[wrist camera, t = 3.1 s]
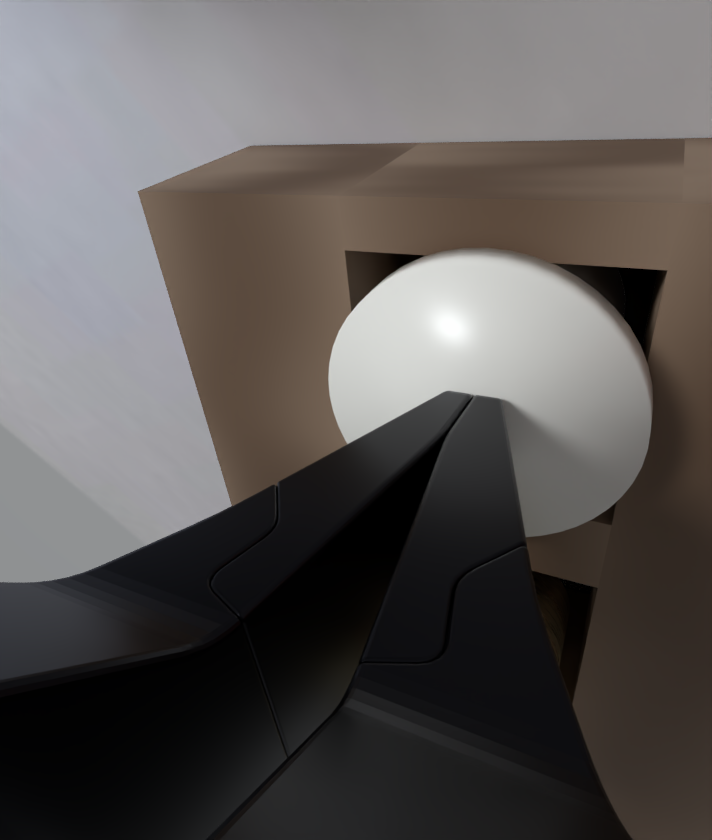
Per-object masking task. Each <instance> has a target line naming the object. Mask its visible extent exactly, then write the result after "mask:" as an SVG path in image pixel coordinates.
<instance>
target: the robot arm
mask: <svg viewBox="0 0 712 840" xmlns="http://www.w3.org/2000/svg"><path fill="white" fill-rule="evenodd" d="M0 840H633V839H632V838H631V836H630V835H629V833H628V832H627V830H626V829H625V827H624V826H623V824H622V822H621V821H620V819H619V818H618V816H617V814H616V812H615V810H614V808H613V806H612V804H611V802H610V800H609V798H608V796H607V794H606V791H605V789H604V787H603V785H602V782H601V780H600V778H599V775H598V773H597V771H596V768H595V766H594V763H593V760H592V758H591V755H590V753H589V750H588V747H587V745H586V742H585V739H584V736H583V733H582V731H581V728H580V725H579V722H578V719H577V716H576V713H575V711H574V708H573V705H572V702H571V699H570V696H569V693H568V691H567V688H566V685H565V682H564V679H563V676H562V674H561V671H560V668H559V665H558V662H557V659H556V656H555V654H554V651H553V648H552V645H551V642H550V639H549V636H548V632H547V629H546V626H545V622H544V619H543V616H542V613H541V609H540V606H539V602H538V598H537V593H536V588H535V584H534V579H533V575H532V570H531V564H530V558H529V552H528V549H527V542H526V536H525V530H524V524H523V518H522V512H521V506H520V500H519V494H518V488H517V482H516V476H515V471H514V465H513V459H512V453H511V447H510V441H509V435H508V429H507V423H506V417H505V411H504V405H503V401H502V400H501V399H499V398H494V397H488V396H481V395H476V396H474V397H473V396H472V395H471V394H468V393H461V392H455V391H445V392H442V393H441V394H439V395H437V396H435V397H433V398H431V399H430V400H428V401H426V402H424V403H422V404H420V405H419V406H417V407H415V408H413V409H411V410H409V411H408V412H406V413H404V414H402V415H400V416H398V417H396V418H395V419H393V420H391V421H389V422H387V423H385V424H384V425H382V426H380V427H378V428H376V429H374V430H373V431H371V432H369V433H367V434H365V435H363V436H361V437H360V438H358V439H356V440H354V441H352V442H350V443H349V444H347V445H345V446H343V447H341V448H339V449H338V450H336V451H334V452H332V453H330V454H328V455H327V456H325V457H323V458H321V459H319V460H317V461H315V462H314V463H312V464H310V465H308V466H306V467H304V468H303V469H301V470H299V471H297V472H295V473H293V474H292V475H290V476H288V477H286V478H284V479H282V480H280V481H279V482H278V483H277V486H276V485H274V484H273V485H271V486H269V487H267V488H265V489H264V490H262V491H260V492H258V493H256V494H254V495H253V496H251V497H249V498H247V499H245V500H243V501H241V502H239V503H237V504H235V505H233V506H231V507H229V508H227V509H225V510H223V511H221V512H219V513H217V514H215V515H213V516H211V517H209V518H206V519H204V520H202V521H200V522H198V523H196V524H194V525H191V526H189V527H187V528H185V529H183V530H180V531H178V532H176V533H174V534H171V535H169V536H167V537H165V538H162V539H160V540H158V541H155V542H153V543H151V544H149V545H146V546H144V547H142V548H140V549H137V550H135V551H133V552H131V553H129V554H126V555H124V556H122V557H119V558H117V559H115V560H112V561H111V562H108V563H106V564H104V565H101V566H99V567H96V568H94V569H92V570H89V571H86V572H84V573H81V574H77V575H74V576H70V577H67V578H62V579H57V580H52V581H43V582H30V583H6V582H2V583H1V582H0Z"/></svg>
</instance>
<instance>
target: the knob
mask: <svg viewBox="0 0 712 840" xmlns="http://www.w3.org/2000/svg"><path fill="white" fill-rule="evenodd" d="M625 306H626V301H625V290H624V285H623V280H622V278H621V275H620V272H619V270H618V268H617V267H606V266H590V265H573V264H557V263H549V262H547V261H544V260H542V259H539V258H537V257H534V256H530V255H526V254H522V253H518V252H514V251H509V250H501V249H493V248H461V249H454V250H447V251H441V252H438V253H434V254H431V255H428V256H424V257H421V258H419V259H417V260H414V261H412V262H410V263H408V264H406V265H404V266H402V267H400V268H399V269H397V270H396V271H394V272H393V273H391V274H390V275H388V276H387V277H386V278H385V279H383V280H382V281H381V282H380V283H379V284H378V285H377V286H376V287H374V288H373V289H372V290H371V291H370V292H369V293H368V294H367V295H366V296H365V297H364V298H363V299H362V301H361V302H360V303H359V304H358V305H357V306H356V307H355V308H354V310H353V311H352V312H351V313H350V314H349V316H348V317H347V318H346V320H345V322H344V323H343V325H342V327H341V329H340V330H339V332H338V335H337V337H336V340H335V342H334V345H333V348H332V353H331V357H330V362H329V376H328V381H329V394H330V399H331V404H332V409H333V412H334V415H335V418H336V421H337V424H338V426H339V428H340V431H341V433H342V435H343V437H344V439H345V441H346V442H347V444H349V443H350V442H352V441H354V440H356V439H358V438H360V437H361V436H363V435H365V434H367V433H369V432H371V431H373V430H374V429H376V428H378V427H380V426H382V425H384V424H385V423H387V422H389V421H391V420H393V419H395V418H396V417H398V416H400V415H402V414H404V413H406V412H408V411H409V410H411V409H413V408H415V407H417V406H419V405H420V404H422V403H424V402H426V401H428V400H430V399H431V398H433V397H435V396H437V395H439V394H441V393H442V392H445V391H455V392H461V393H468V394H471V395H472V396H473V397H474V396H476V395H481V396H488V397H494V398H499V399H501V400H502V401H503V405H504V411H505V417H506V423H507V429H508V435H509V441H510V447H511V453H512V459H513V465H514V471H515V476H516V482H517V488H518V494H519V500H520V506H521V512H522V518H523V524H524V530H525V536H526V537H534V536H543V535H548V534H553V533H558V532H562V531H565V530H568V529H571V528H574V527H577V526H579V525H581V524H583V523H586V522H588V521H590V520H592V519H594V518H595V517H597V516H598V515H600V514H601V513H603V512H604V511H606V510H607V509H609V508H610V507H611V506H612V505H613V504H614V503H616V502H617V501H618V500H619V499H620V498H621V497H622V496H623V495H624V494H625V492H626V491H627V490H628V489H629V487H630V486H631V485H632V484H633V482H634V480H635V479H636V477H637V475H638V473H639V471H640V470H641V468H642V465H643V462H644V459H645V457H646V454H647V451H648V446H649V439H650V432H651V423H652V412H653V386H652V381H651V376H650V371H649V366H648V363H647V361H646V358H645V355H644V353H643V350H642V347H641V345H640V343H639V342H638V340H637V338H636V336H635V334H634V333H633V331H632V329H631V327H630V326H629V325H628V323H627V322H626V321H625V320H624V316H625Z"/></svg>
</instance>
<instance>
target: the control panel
mask: <svg viewBox="0 0 712 840" xmlns="http://www.w3.org/2000/svg"><path fill="white" fill-rule="evenodd" d="M138 194H139V197H140V200H141V204H142V207H143V210H144V214H145V217H146V220H147V224H148V227H149V230H150V234H151V237H152V240H153V244H154V247H155V250H156V254H157V257H158V260H159V264H160V267H161V270H162V274H163V277H164V280H165V284H166V287H167V290H168V294H169V297H170V300H171V304H172V307H173V310H174V314H175V317H176V320H177V324H178V327H179V330H180V334H181V337H182V340H183V344H184V347H185V350H186V354H187V357H188V360H189V364H190V367H191V370H192V374H193V377H194V380H195V384H196V387H197V390H198V394H199V397H200V401H201V404H202V407H203V411H204V414H205V417H206V421H207V424H208V427H209V431H210V434H211V437H212V441H213V444H214V447H215V451H216V454H217V457H218V461H219V464H220V467H221V471H222V474H223V477H224V481H225V484H226V487H227V491H228V494H229V497H230V501H231V504H232V506H233V505H235V504H237V503H239V502H241V501H243V500H245V499H247V498H249V497H251V496H253V495H254V494H256V493H258V492H260V491H262V490H264V489H265V488H267V487H269V486H271V485H273V484H274V485H276V486H277V483H278V482H279V481H280V480H282V479H284V478H286V477H288V476H290V475H292V474H293V473H295V472H297V471H299V470H301V469H303V468H304V467H306V466H308V465H310V464H312V463H314V462H315V461H317V460H319V459H321V458H323V457H325V456H327V455H328V454H330V453H332V452H334V451H336V450H338V449H339V448H341V447H343V446H345V445H347V442H346V441H345V439H344V437H343V435H342V433H341V431H340V428H339V426H338V424H337V421H336V418H335V415H334V412H333V409H332V404H331V399H330V394H329V381H328V376H329V362H330V357H331V353H332V348H333V345H334V342H335V340H336V337H337V335H338V332H339V330H340V329H341V327H342V325H343V323H344V322H345V320H346V318H347V317H348V316H349V314H350V313H351V312H352V311H353V310H354V308H355V307H356V306H357V305H358V304H359V303H360V302H361V301H362V299H363V298H364V297H365V296H366V295H367V294H368V293H369V292H370V291H371V290H372V289H373V288H374V287H376V286H377V285H378V284H379V283H380V282H381V281H382V280H383V279H385V278H386V277H387V276H388V275H390V274H391V273H393V272H394V271H396V270H397V269H399V268H400V267H402V266H404V265H406V264H408V263H410V262H412V261H414V260H417V259H419V258H421V257H424V255H431V254H434V253H438V252H441V251H447V250H454V249H461V248H493V249H501V250H509V251H514V252H518V253H522V254H526V255H530V256H534V257H537V258H539V259H542V260H544V261H547V262H549V263H557V264H573V265H590V266H606V267H622V268H638V269H654V270H658V271H657V276H656V280H655V285H654V290H653V295H652V299H651V304H650V309H649V314H648V319H647V323H646V328H645V333H644V338H643V343H642V350H643V353H644V355H645V358H646V361H647V363H648V366H649V371H650V376H651V381H652V386H653V412H652V423H651V432H650V439H649V446H648V451H647V454H646V457H645V459H644V462H643V465H642V468H641V470H640V471H639V473H638V475H637V477H636V479H635V480H634V482H633V484H632V485H631V486H630V487H629V489H628V490H627V491H626V492H625V494H624V495H623V496H622V497H621V498H620V499H619V500H618V501H617V502H616V503H614V504H613V505H612V506H611V507H610V508H609V509H607V510H606V511H604V512H603V513H601V514H600V515H598V516H597V517H595V518H594V519H592V520H590V521H588V522H586V523H583V524H581V525H579V526H577V527H574V528H571V529H568V530H565V531H562V532H558V533H553V534H548V535H543V536H534V537H526V542H527V549H528V552H529V558H530V564H531V570H532V571H535V572H539V573H543V574H547V575H551V576H554V577H558V578H562V579H566V580H570V581H573V582H577V583H581V584H585V585H589V586H592V587H591V592H590V594H586V593H583V592H579V591H575V590H572V589H568V588H565V589H566V591H567V594H568V597H569V603H570V612H569V618H568V623H567V629H566V634H565V639H564V644H563V650H562V655H561V660H560V665H559V668H560V671H561V674H562V676H563V679H564V682H565V685H566V688H567V691H568V693H569V696H570V699H571V702H572V705H573V708H574V711H575V713H576V716H577V719H578V722H579V725H580V728H581V731H582V733H583V736H584V739H585V742H586V745H587V747H588V750H589V753H590V755H591V758H592V760H593V763H594V766H595V768H596V771H597V773H598V775H599V778H600V780H601V782H602V785H603V787H604V789H605V791H606V794H607V796H608V798H609V800H610V802H611V804H612V806H613V808H614V810H615V812H616V814H617V816H618V818H619V819H620V821H621V822H622V824H623V826H624V827H625V829H626V830H627V832H628V833H629V835H630V836H631V838H632V839H633V840H712V138H685V139H626V140H567V141H508V142H449V143H390V144H331V145H272V146H249V147H246V148H244V149H241V150H239V151H237V152H234V153H232V154H229V155H227V156H224V157H222V158H219V159H217V160H214V161H212V162H209V163H207V164H204V165H202V166H200V167H197V168H195V169H192V170H190V171H187V172H185V173H182V174H180V175H177V176H175V177H172V178H170V179H167V180H165V181H163V182H160V183H158V184H155V185H153V186H150V187H148V188H145V189H143V190H140V191H138Z"/></svg>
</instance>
